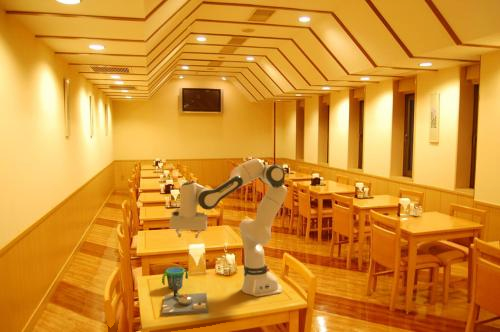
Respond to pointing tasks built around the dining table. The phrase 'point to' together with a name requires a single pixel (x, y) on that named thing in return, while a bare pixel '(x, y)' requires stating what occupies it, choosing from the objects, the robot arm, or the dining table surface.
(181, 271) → the snack cup
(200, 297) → the board
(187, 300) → the ladle
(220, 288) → the dining table surface
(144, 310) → the dining table surface
